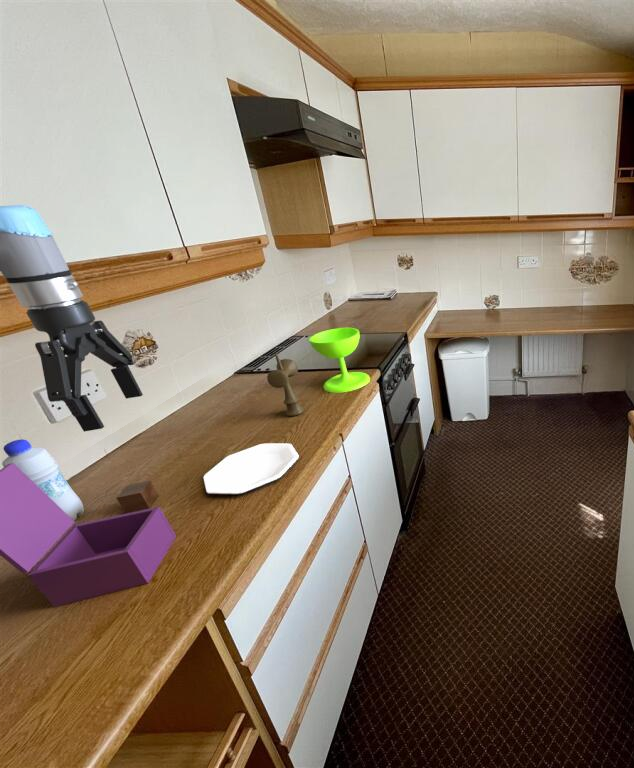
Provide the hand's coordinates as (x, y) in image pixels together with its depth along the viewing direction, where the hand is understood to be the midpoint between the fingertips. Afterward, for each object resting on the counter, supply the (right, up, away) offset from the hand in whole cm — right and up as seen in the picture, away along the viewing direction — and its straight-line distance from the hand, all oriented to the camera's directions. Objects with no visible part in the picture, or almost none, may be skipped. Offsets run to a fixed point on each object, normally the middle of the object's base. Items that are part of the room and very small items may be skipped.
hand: (116, 411), depth 79 cm
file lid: (-4, -16, -12) cm, 21 cm away
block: (-6, -22, +13) cm, 26 cm away
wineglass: (+18, +6, +67) cm, 69 cm away
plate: (+13, -16, +22) cm, 30 cm away
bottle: (-20, -24, +10) cm, 33 cm away
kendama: (+9, -4, +48) cm, 49 cm away
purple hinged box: (+4, -29, -4) cm, 29 cm away
